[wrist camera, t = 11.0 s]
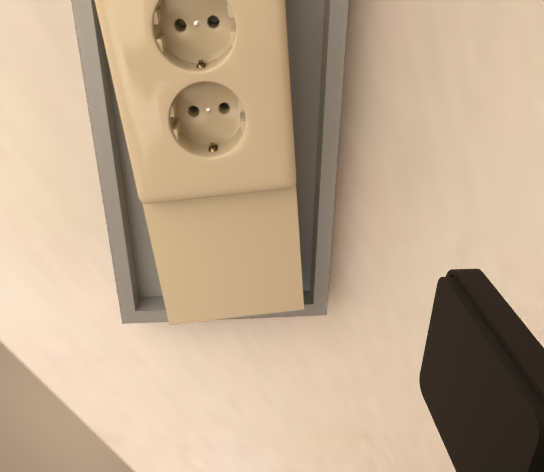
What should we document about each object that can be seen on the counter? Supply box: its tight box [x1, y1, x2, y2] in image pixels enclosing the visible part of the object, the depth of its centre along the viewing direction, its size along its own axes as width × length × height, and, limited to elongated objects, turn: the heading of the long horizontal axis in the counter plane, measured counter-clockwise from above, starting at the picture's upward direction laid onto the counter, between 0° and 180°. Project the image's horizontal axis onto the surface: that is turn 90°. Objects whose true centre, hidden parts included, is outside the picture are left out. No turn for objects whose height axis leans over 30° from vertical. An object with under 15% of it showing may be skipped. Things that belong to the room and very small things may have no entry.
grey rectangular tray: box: [71, 0, 349, 324], centre depth 25 cm, size 23×12×2 cm, turn 0°
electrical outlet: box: [95, 0, 304, 325], centre depth 24 cm, size 7×4×18 cm
